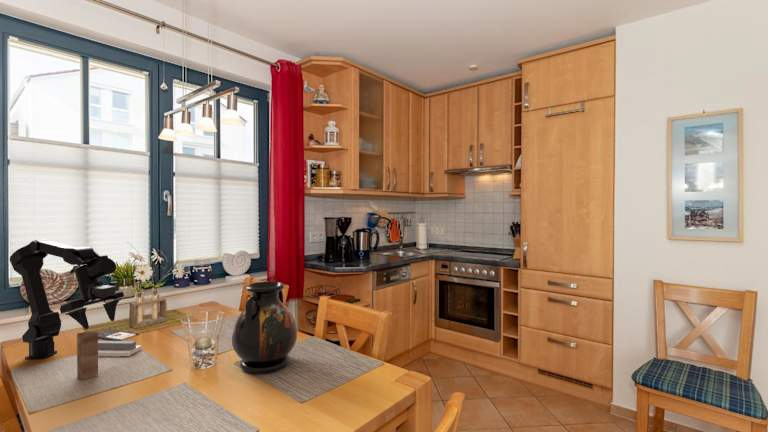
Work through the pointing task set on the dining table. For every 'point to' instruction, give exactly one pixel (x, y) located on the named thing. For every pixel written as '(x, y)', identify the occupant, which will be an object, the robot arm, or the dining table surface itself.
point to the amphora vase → (264, 330)
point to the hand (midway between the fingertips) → (100, 324)
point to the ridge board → (118, 352)
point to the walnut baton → (87, 354)
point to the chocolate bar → (115, 335)
